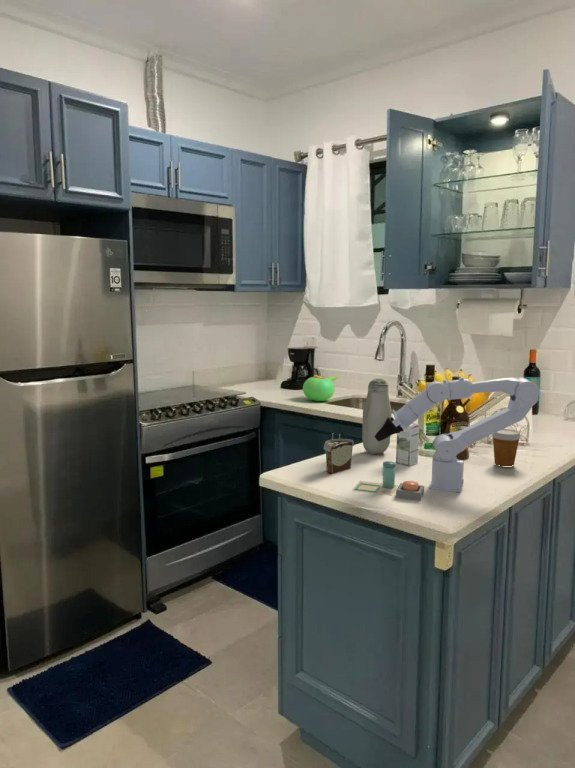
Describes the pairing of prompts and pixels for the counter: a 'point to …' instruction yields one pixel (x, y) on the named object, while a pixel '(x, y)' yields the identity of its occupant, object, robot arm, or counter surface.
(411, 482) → the button
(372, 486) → the card sheet
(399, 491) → the button housing
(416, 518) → the counter surface
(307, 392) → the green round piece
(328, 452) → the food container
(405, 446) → the syrup box
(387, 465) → the teal rounded cylinder
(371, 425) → the grey bottle
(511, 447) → the disposable coffee cup
